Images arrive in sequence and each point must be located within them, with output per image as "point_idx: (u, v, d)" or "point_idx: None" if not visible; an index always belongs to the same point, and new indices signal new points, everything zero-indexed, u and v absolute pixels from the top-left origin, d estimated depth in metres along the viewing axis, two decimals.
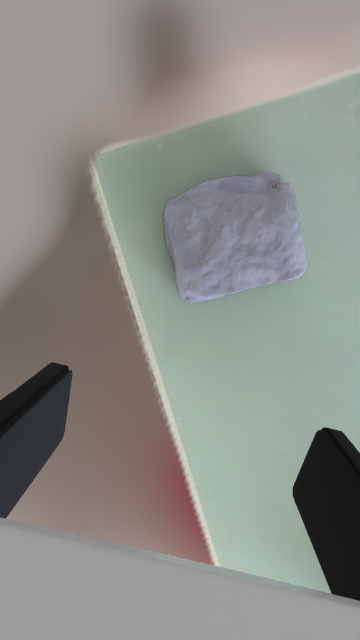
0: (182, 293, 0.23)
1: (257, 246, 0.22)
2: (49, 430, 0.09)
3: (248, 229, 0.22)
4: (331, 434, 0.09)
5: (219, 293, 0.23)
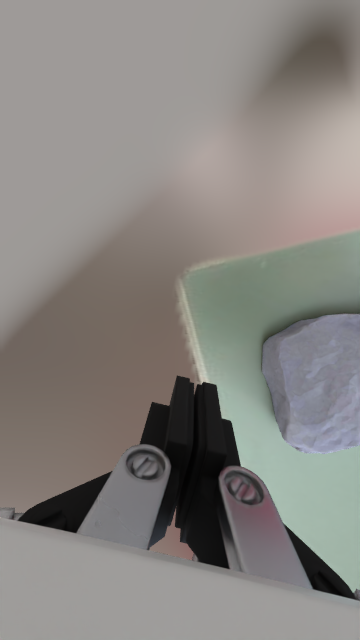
0: (293, 444, 0.20)
1: None
2: None
3: None
4: (203, 386, 0.10)
5: (339, 448, 0.19)
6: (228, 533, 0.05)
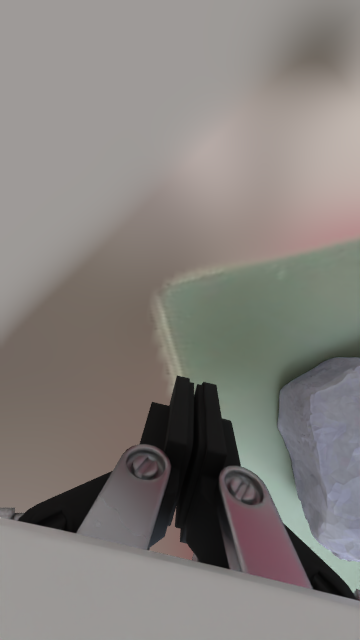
0: (328, 548, 0.13)
1: None
2: None
3: None
4: (204, 386, 0.10)
5: None
6: (228, 533, 0.05)
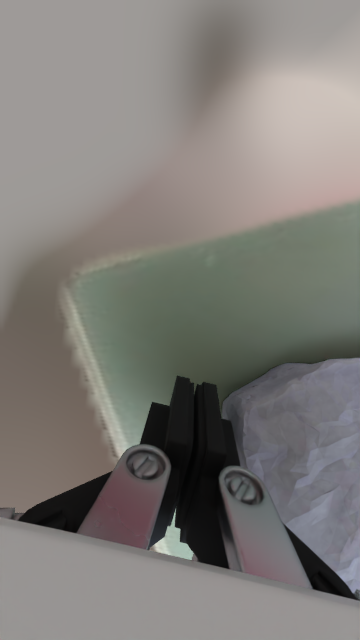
0: None
1: None
2: None
3: None
4: (203, 386, 0.10)
5: None
6: (228, 533, 0.05)
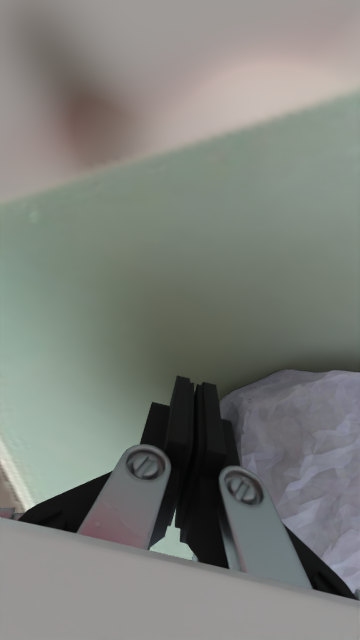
0: None
1: None
2: None
3: None
4: (203, 386, 0.10)
5: None
6: (228, 533, 0.05)
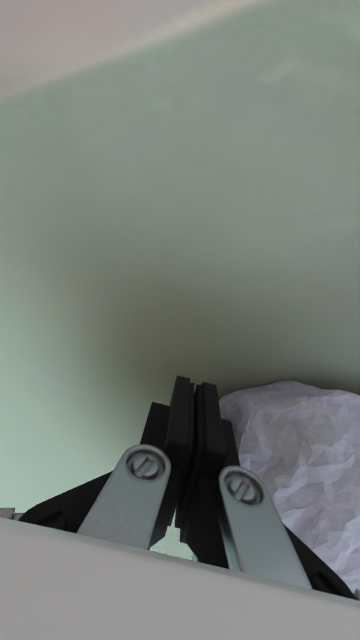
0: None
1: None
2: None
3: None
4: (203, 386, 0.10)
5: None
6: (228, 533, 0.05)
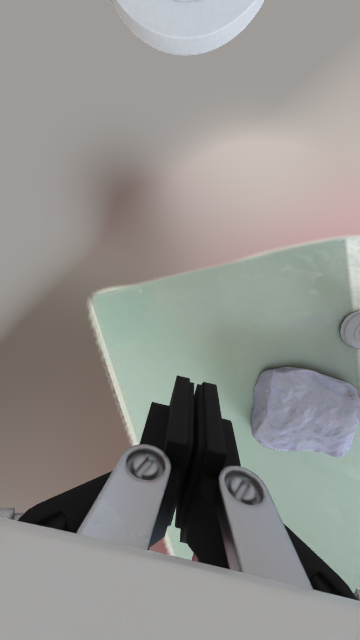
0: (259, 438, 0.31)
1: (323, 428, 0.31)
2: None
3: (322, 416, 0.30)
4: (203, 386, 0.10)
5: (284, 449, 0.31)
6: (228, 533, 0.05)
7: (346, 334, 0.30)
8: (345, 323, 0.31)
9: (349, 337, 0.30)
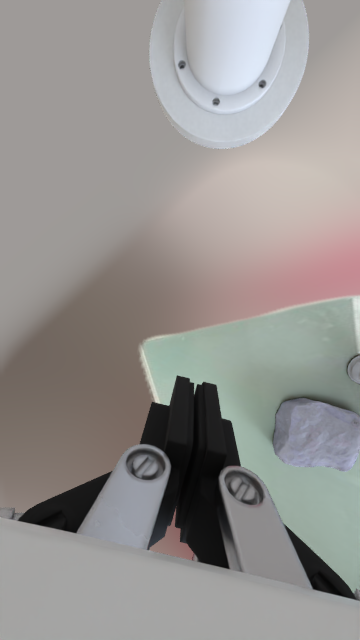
0: (281, 457, 0.39)
1: (333, 449, 0.38)
2: None
3: (332, 440, 0.38)
4: (203, 386, 0.10)
5: (302, 465, 0.38)
6: (228, 533, 0.05)
7: (352, 374, 0.37)
8: (351, 364, 0.38)
9: (355, 377, 0.37)
